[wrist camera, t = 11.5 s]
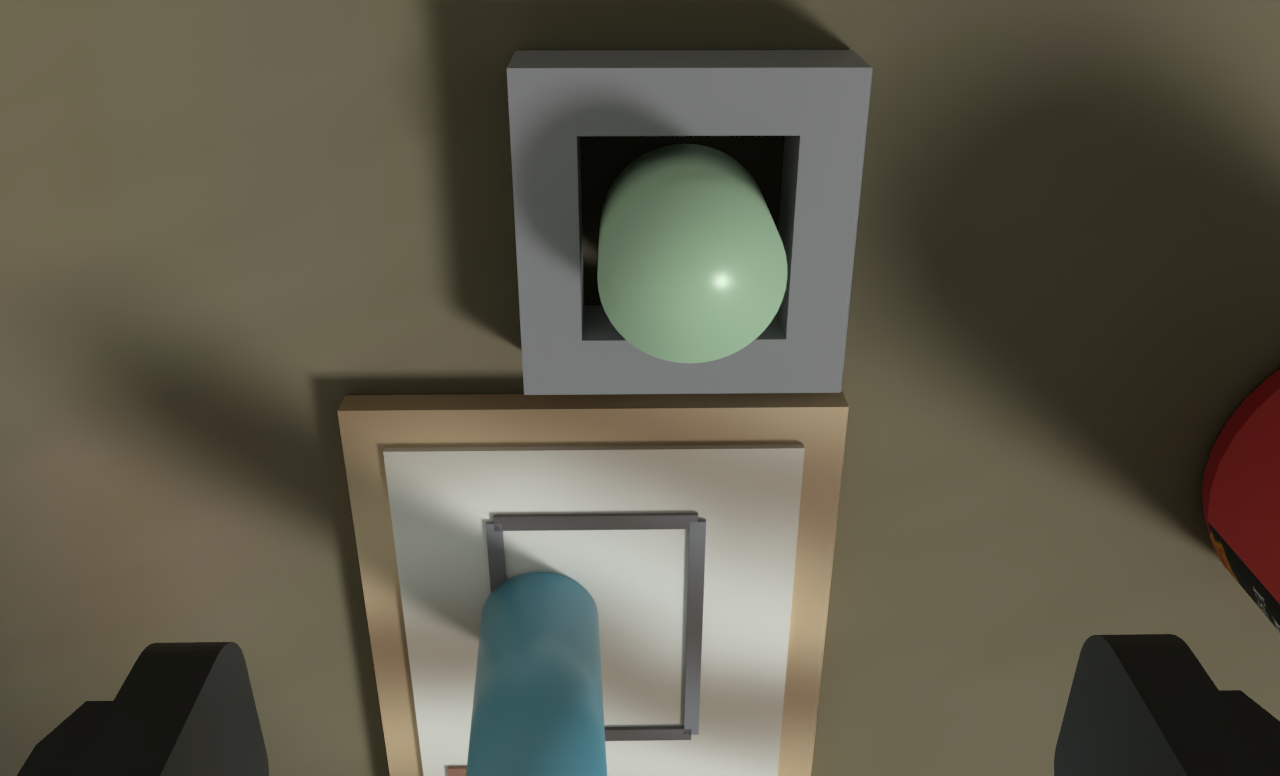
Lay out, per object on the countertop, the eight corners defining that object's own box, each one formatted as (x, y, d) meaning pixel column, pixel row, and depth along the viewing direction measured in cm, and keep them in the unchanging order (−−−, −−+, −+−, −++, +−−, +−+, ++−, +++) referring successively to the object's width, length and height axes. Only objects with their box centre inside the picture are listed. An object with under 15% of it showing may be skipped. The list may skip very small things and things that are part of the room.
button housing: (824, 354, 25) (840, 392, 24) (530, 356, 25) (524, 394, 23) (852, 49, 22) (872, 67, 20) (515, 50, 22) (506, 68, 20)
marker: (600, 663, 28) (620, 1006, 20) (483, 668, 28) (452, 1018, 20) (599, 567, 27) (619, 893, 18) (475, 573, 27) (438, 905, 18)
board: (797, 850, 33) (802, 881, 32) (409, 855, 33) (402, 887, 32) (842, 391, 26) (851, 413, 25) (344, 395, 26) (333, 417, 25)
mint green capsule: (762, 304, 24) (781, 363, 21) (600, 305, 24) (598, 364, 21) (772, 143, 22) (794, 183, 19) (598, 143, 22) (595, 184, 19)
